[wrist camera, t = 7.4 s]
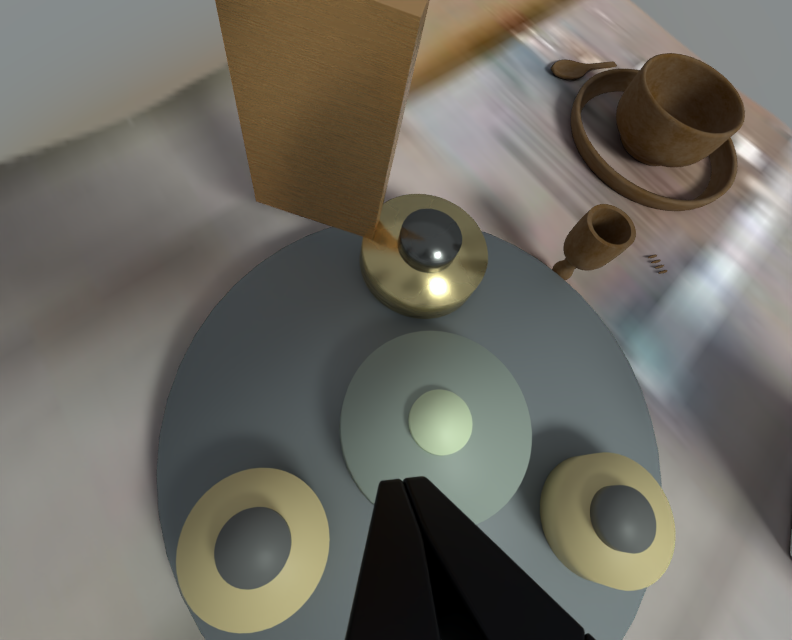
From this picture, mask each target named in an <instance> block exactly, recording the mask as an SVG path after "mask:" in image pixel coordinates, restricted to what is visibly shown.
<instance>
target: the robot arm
mask: <svg viewBox="0 0 792 640" xmlns="http://www.w3.org/2000/svg"><path fill="white" fill-rule="evenodd" d="M345 640H596V639H595V638H594V637H593V636H592V635H591V634H589V633H586V634H585V630H584V628H583V627H582V626H581V625H580V624H579V623H578V622H577V621H576V620H575V619H574V618H573V617H572V616H571V615H570V614H568V613H567V612H566V611H565V610H564V609H563V608H562V607H561V606H560V605H559V604H558V603H557V602H556V601H555V600H554V599H553V598H552V597H551V596H550V595H549V594H548V593H547V592H546V591H545V590H543V589H542V588H541V587H540V586H539V585H538V584H537V583H536V582H535V581H534V580H533V579H532V578H531V577H530V576H529V575H528V574H527V573H526V572H525V571H524V570H523V569H522V568H521V567H520V566H518V565H517V564H516V563H515V562H514V561H513V560H512V559H511V558H510V557H509V556H508V555H507V554H506V553H505V552H504V551H503V550H502V549H501V548H500V547H499V546H498V545H497V544H496V543H495V542H493V541H492V540H491V539H490V538H489V537H488V536H487V535H486V534H485V533H484V532H483V531H482V530H481V529H480V528H479V527H478V526H477V525H476V524H475V523H474V522H473V521H472V520H471V519H470V518H469V517H467V516H466V515H465V514H464V513H463V512H462V511H461V510H460V509H459V508H458V507H457V506H456V505H455V504H454V503H453V502H452V501H451V500H450V499H449V498H448V497H447V496H446V495H445V494H444V493H442V492H441V491H440V490H439V489H438V488H437V487H436V486H435V485H434V484H433V483H432V482H431V481H430V480H429V479H428V478H427V477H425V476H417V477H408V478H405V479H404V480H403V481H402V480H401V479H390V480H382V481H380V482H379V485H378V489H377V494H376V498H375V503H374V507H373V512H372V517H371V521H370V526H369V530H368V535H367V539H366V544H365V549H364V553H363V558H362V562H361V567H360V571H359V576H358V581H357V585H356V590H355V594H354V599H353V603H352V608H351V613H350V617H349V622H348V626H347V631H346V635H345Z"/></svg>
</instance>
